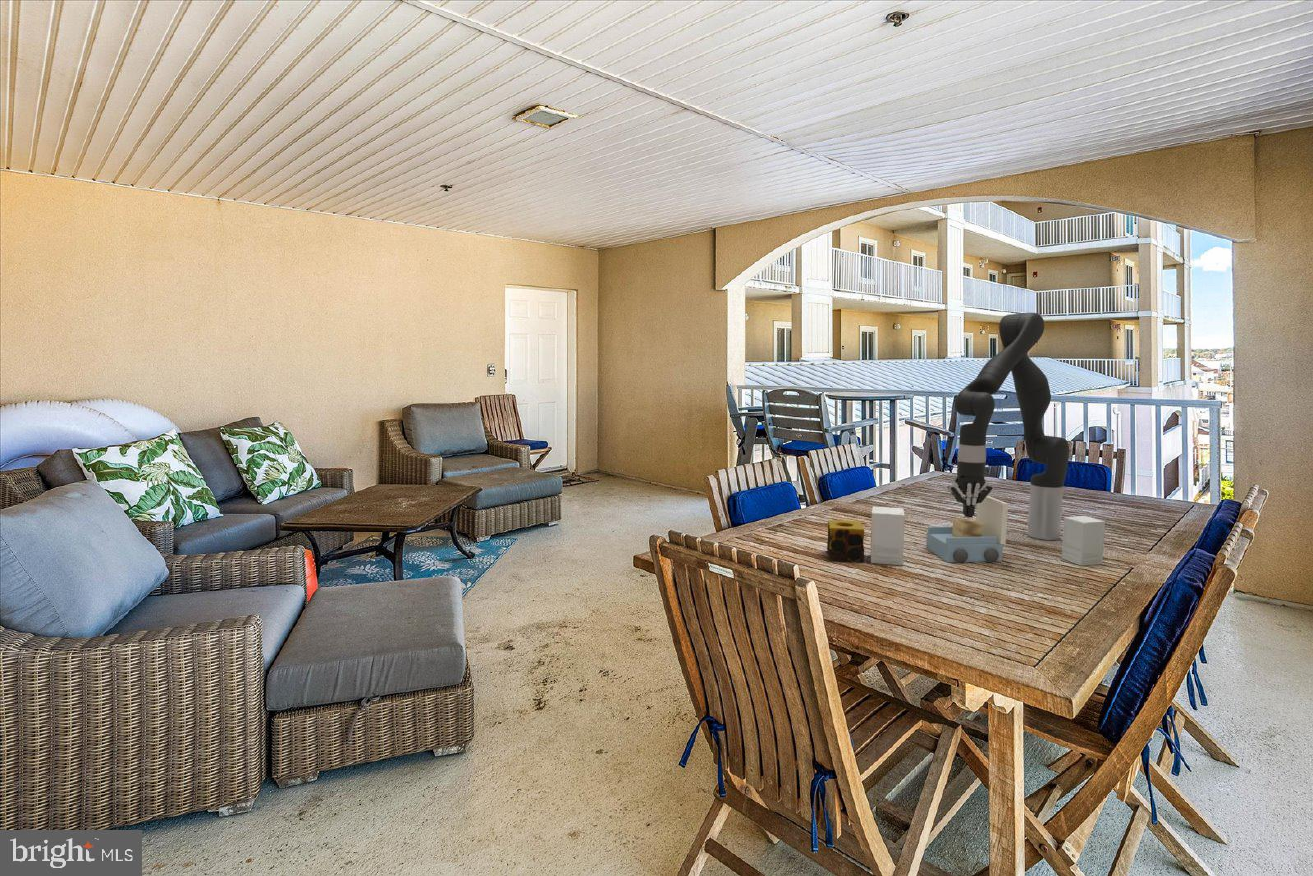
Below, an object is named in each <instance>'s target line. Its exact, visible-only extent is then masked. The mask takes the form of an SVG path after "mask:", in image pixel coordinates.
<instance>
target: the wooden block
mask: <svg viewBox="0 0 1313 876" xmlns="http://www.w3.org/2000/svg"><path fill="white" fill-rule="evenodd" d="M952 526H953V529H952V536H954V537H982V532H983V524H981V523H979V522H977V521H976V520H975V519H973V518H970V519H969V518H966V519H963V518H962V519H961V518H959V519H952Z"/></svg>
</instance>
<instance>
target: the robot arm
mask: <svg viewBox="0 0 1313 876" xmlns="http://www.w3.org/2000/svg"><path fill="white" fill-rule="evenodd" d="M998 328H999V329H998V330H999V331H998V332H999V337H1000V341H1001V344H1002V346H1003V350H1001V351H999V352H998V353H997V354H995V355H993V356H992V357H991V358H990V359H988V361H986V363H985V364H984V365H983V366H982V369H980V371H979V373H978V375H977V376H976V378H975V379H973V380H972V381H971V382H969V383H968V384H967V385H966V386H965V387H963V389H961V391H960V392H959V393H958V394H957V396H956V398H955V400H954V409H955V410H956V412H957V413H958V414H959V415H962V416H970V417H975V418H974V419H973V421H972V423H964V424H963V425H961V426H960V428H959V443H958V449H957V461H956V465H957V466H956V478H955V480H954V483H953V484H952V485H948V486H947V490H948V491H949V492H950V494H951V495H952V496H953V498H954V499H955V501H956V502H958V503H960V504H962V514H963V516H964V517H965V518H966V519H969V518H970V519H973V516H975V512H976V506H977V503H981V502H982V501H983V500H984V499H985V498H986V496H987V495H988V496H989V494H990V493H991V492H992V490H993V486H991V485H989V484H987V483H986V479H985V475H986V464H987V462H986V460H987V450H986V449H987V448H986V447H987V446H986V445H987V444H986V443H987V431H988V428H989V424H990V421H991V419H992V417H993V414H994V410H995V406H996V402H995V399H994V397H993V395H994V394H996V393H997V392H998V391H1000V388H1001V387H1002V386H1003V384H1004V383H1005V380H1006V379H1007V377H1008V376H1009V374H1010V373H1011V374H1012V379H1013V383H1014V390H1015V394H1016V400H1017V402H1018V405H1019V411H1020V414H1021V419H1022V424H1023V433H1024V443H1025V450H1026V454H1027V456H1028V458H1029V460H1030V461H1031V462H1033V463H1036V464H1042V465H1046V469H1045V471H1043V472H1040V473H1035V474H1033V475H1031V477H1030V485H1029V486H1030V488H1029V489H1030V490H1029V501H1028V502H1029V506H1028V519H1027V532H1026V535H1027V536H1028V537H1031V538H1034V539H1038V540H1045V541H1057V540H1060V538H1061V523H1062V511H1063V510H1062V509H1063V498H1064V496H1063V495H1064V483H1065V479H1066V478H1067V474H1068V473H1067V472H1068V465H1069V457H1070V445H1069V442H1068V441H1067V439H1066V438H1064V437H1061V436H1052V435H1045V433H1044V430H1043V418H1044V416H1045V414H1046V413H1047V410H1048V408H1049V406H1050V404H1051V400H1052V394H1051V389H1050V385H1049V380H1048V378H1047V376H1046V375H1045V373H1044V372H1043V371H1042V369H1040V367H1038V365H1036V363H1035V362H1034V361H1033V360H1032V359H1031V358H1030V357H1029V355H1028V352H1030V351H1031V349H1032V348H1033V347H1034V346H1035V345H1036V344H1037V343H1038V341H1039V340H1040V339H1041V338H1042V336H1043V334H1044V331H1045V321H1044V318H1043V316H1042V315H1041V314H1040V313H1038V312H1022V313H1021V312H1020V313H1013V314H1006V315H1004V316H1002V317H1001V319H1000V322H999V327H998ZM959 490H960V493H959Z"/></svg>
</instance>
